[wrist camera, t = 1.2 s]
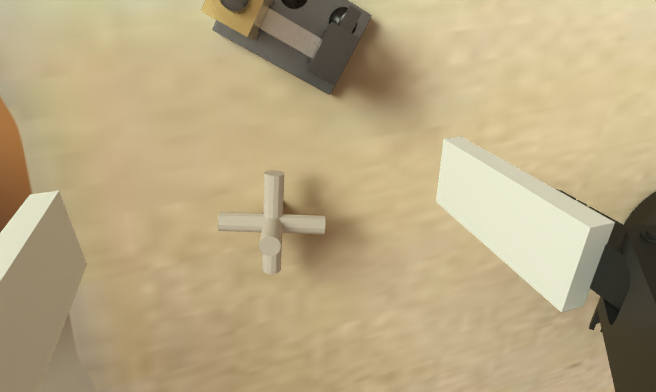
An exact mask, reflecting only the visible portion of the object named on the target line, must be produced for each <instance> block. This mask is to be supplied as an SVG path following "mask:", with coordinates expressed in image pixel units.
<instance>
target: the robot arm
mask: <svg viewBox="0 0 656 392" xmlns="http://www.w3.org/2000/svg"><path fill="white" fill-rule="evenodd" d="M436 202H437V203H438V204H439V205H440V206H441V207H443V208H444V209H445V210H446V211H447V212H448V213H449V214H450V215H452V216H453V217H454V218H455V219H456V220H457V221H458V222H460V223H461V224H462V225H463V226H464V227H465V228H466V229H467V230H469V231H470V232H471V233H472V234H473V235H474V236H475V237H476V238H478V239H479V240H480V241H481V242H482V243H483V244H484V245H486V246H487V247H488V248H489V249H490V250H491V251H492V252H493V253H495V254H496V255H497V256H498V257H499V258H500V259H501V260H503V261H504V262H505V263H506V264H507V265H508V266H509V267H510V268H512V269H513V270H514V271H515V272H516V273H517V274H518V275H519V276H521V277H522V278H523V279H524V280H525V281H526V282H527V283H529V284H530V285H531V286H532V287H533V288H534V289H535V290H536V291H538V292H539V293H540V294H541V295H542V296H543V297H544V298H546V299H547V300H548V301H549V302H550V303H551V304H552V305H553V306H555V307H556V308H557V309H558V310H559V311H560V312H565V311H569V310H572V309H576V308H579V307H583V306H584V304H585V301H586V299H587V296H588V293H589V291H590V288H591V289H592V290H593V291H594V292H596V293H597V294H598V295H600V296H601V297H600V299H599V302H598V304H597V307H596V309H595V312H594V314H593V317H592V320H591V322H590V326H589V329H592V330H594V328H595V326H596V324H597V323H599V322H600V323H601V331H600V332H602V333H603V337H604V342H605V346H606V351H607V355H608V360H609V365H610V369H611V374H612V378H613V383H614V387H615V392H656V192H654V193H653V194H651V195H650V196H649V197H647V198H646V199H645V200H644V201H643V202H642V203H640V204H639V205H638V206H637V208H636V209H635V210H634V211H633V212H632V213H631V215H630V216H629V218H628V219H627V221H626V222H625V224H624V225H622V224H621V223H619V222H617V221H615V220H613V219H612V218H610V217H608V216H606V215H604V214H603V213H601V212H599V211H597V210H595V209H594V208H592V207H587V205H586V204H585V203H583V202H581V201H579V200H577V201H576V198H574V197H572V196H570V195H568V194H566V193H565V192H563V191H561V190H558V189H555V188H553V187H551V186H549V185H547V184H545V183H544V182H542V181H540V180H538V179H536V178H535V177H533V176H531V175H529V174H528V173H526V172H524V171H522V170H520V169H519V168H517V167H515V166H513V165H511V164H510V163H508V162H506V161H504V160H502V159H501V158H499V157H497V156H495V155H494V154H492V153H490V152H488V151H486V150H485V149H483V148H481V147H479V146H477V145H476V144H474V143H472V142H470V141H468V140H467V139H465V138H463V137H453V138H446V139H444V140H443V148H442V156H441V165H440V173H439V181H438V189H437V198H436ZM86 265H87V263H86V260H85V257H84V255H83V252H82V250H81V247H80V244H79V242H78V239H77V237H76V234H75V231H74V229H73V226H72V224H71V221H70V218H69V216H68V213H67V210H66V208H65V205H64V203H63V200H62V197H61V195H60V192H59V191H53V192H46V193H39V194H31V195H30V196H29V197H28V198H27V199H26V201H25V202H24V203H23V205H22V206H21V207H20V208H19V210H18V211H17V212H16V213H15V215H14V216H13V217H12V219H11V220H10V221H9V222H8V224H7V225H6V227H5V228H4V229H3V230H2V232H1V233H0V392H39V390H40V387H41V384H42V382H43V379H44V377H45V374H46V371H47V368H48V366H49V363H50V360H51V358H52V355H53V353H54V350H55V347H56V345H57V342H58V339H59V337H60V334H61V331H62V329H63V326H64V323H65V321H66V318H67V315H68V313H69V310H70V307H71V305H72V302H73V300H74V297H75V294H76V292H77V289H78V286H79V284H80V281H81V278H82V276H83V273H84V270H85V268H86Z"/></svg>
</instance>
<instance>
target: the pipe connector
mask: <svg viewBox="0 0 656 392" xmlns="http://www.w3.org/2000/svg"><path fill="white" fill-rule="evenodd" d="M283 194H284V173H283V172H281V171H266V172H265V173H264V213H239V212H219V217H218V230H219V231H237V232H262V233H261V238H260V243H259V249H260V251H261V252H262V253H263V262H262V269H263V272H265V273H268V274H275V273H278V272H279V271H280V270H281V247H282V233H300V234H325V216H321V215H293V214H283V207H284V205H283Z"/></svg>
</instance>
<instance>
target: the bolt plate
mask: <svg viewBox="0 0 656 392" xmlns="http://www.w3.org/2000/svg"><path fill="white" fill-rule="evenodd" d="M371 16H372V15H370V14H369V13H367V12H365V11H364V10H362V9H361V8H359V7H357V6H356V5H354V4H353V3H351V2H349V1H348V0H274V2H273V4H272V6H269V8H268V10H267V12H266V14H265V16H264V19H263V21H262V23H261V25H260V27H259V30H258V32H259V35H258V37H257V39H256V38H254V40H252V39H250V38H248V37H246V36H244V35H243V34H241V33H239V32H237V31H235V30H234V29H232V28H230V27H228V26H227V25H225V24H223V23H221V22H219V21H218V20H216V22H215V24H214V27H213V29H212V30H213V31H215V32H217V33H219V34H221V35H222V36H224V37H226V38H228V39H230V40H231V41H233V42H235V43H237V44H239V45H240V46H242V47H244V48H246V49H248V50H249V51H251V52H253V53H255V54H257V55H258V56H260V57H262V58H264V59H266V60H267V61H269V62H271V63H273V64H275V65H276V66H278V67H280V68H282V69H284V70H285V71H287V72H289V73H291V74H293V75H294V76H296V77H298V78H300V79H302V80H303V81H305V82H307V83H309V84H311V85H312V86H314V87H316V88H318V89H320V90H321V91H323V92H325V93H327V94H329V95H330V94H331V92H332V90H333V88H334V86H335V85H336V83H337V81H338V79H339V77H340V75H341V73H342V71H343V69H344V67H345V66H346V64H347V62H348V60H349V58H350V56H351V54H352V52H353V50H354V48H355V47H356V45H357V43H358V41H359V39H360V37H361V35H362V33H363V31H364V29H365V27H366V25H367V23H368V22H369V20H370V18H371Z"/></svg>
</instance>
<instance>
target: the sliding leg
mask: <svg viewBox="0 0 656 392" xmlns="http://www.w3.org/2000/svg"><path fill="white" fill-rule="evenodd" d="M273 2H274V0H205V2H204V5H203V7H202V10H201V11H202V12H203V13H205V14H207V15H209V16H211V17H212V18H214V19H216V20H218V21H219V22H221V23H223V24H225V25H227V26H228V27H230V28H232V29H234V30H235V31H237V32H239V33H241V34H243V35H244V36H246V37H248V38H250V39H252V40H254V38H256V39H257V37H258V35H259V32H258V30H259V27H260V25H261V23H262V21H263V19H264V16H265V14H266V12H267V10H268V8H269V6H272V4H273Z"/></svg>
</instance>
